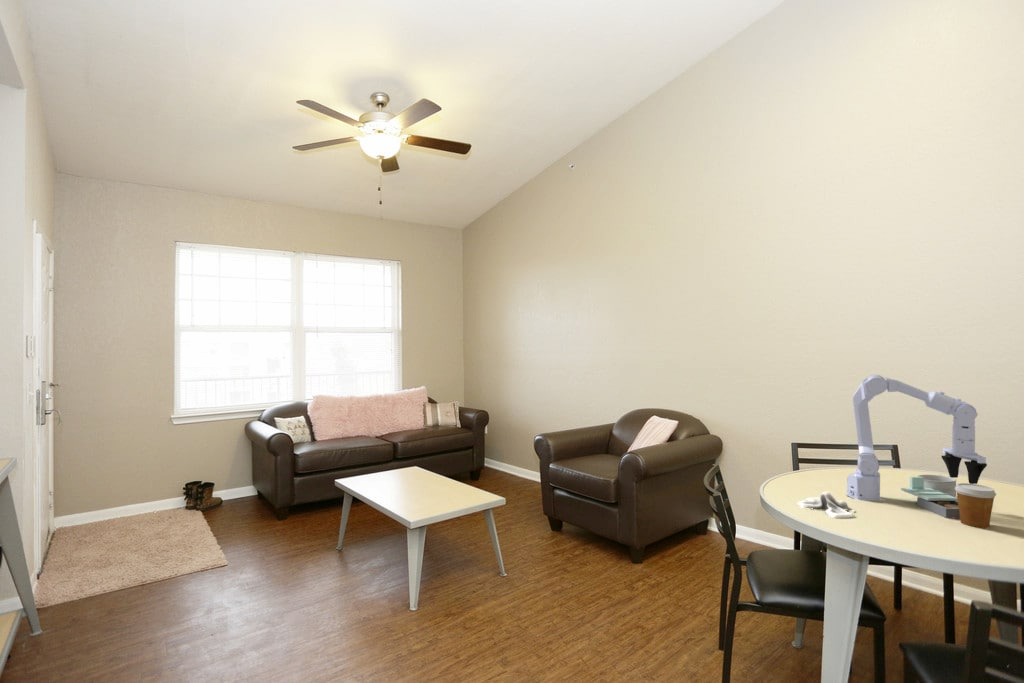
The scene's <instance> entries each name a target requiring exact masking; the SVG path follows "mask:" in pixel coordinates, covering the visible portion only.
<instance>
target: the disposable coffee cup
mask: <svg viewBox="0 0 1024 683" xmlns="http://www.w3.org/2000/svg"><path fill="white" fill-rule="evenodd" d="M955 490H956V498H958V505H959V512H960V518H959V519H960V523H961V524H962V525H965V526H968V527H972V528H977V529H989V527H990V522H991V517H992V513H993V512H992V511H993V506H994V499H995V498H996V496H997V493H996V492H995V489H994V488H992V487H990V486H988V485H987V486H986V485H982V484H978V483H977V484H970V483H969V482H968V483H967V482H965V483H964V482H960V483H956V487H955Z"/></svg>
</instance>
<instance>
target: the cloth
mask: <svg viewBox="0 0 1024 683" xmlns="http://www.w3.org/2000/svg"><path fill="white" fill-rule="evenodd" d="M806 500H808V501H806ZM798 505H799V506H800V507H801V508H805V509H806V508H813V509H812V510H814V509H827V510H824V512H826V513H825V514H826V515H827V516H828V515H829V516H828V517H830V516H831V517H832V518H831V519H834V518H836V519H851V518H850V517H857V516H856V515H855V514H854V513H849V512H855V510H856V509H851V510H850V509H849V510H844V509H848V508H849V505H848V503H847V502H846V501H844V500H842V499H841V500H840V499H839V500H838V499H835V497H834V496H833V495H832V494H831V493H830V492H829V490H828V491H823V492H822V493H821V495H820V497H818V496H817V497H807V498H806V499H805V500H800V501H798V502H797V506H798ZM799 506H798V507H799ZM800 507H799V508H800ZM801 508H800V509H801ZM847 511H849V512H847ZM855 513H856V512H855Z"/></svg>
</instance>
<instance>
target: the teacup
mask: <svg viewBox="0 0 1024 683" xmlns="http://www.w3.org/2000/svg"><path fill="white" fill-rule="evenodd" d="M916 477H923V478H924V488H930V489H933V490H939V492H942V493H945V494H949V495H950V496H953V497H957V492H956V490H955V487H956V485H957V478H951V477H950V476H948V475H947V476H946V475H942V474H919V475H917V476H916Z"/></svg>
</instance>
